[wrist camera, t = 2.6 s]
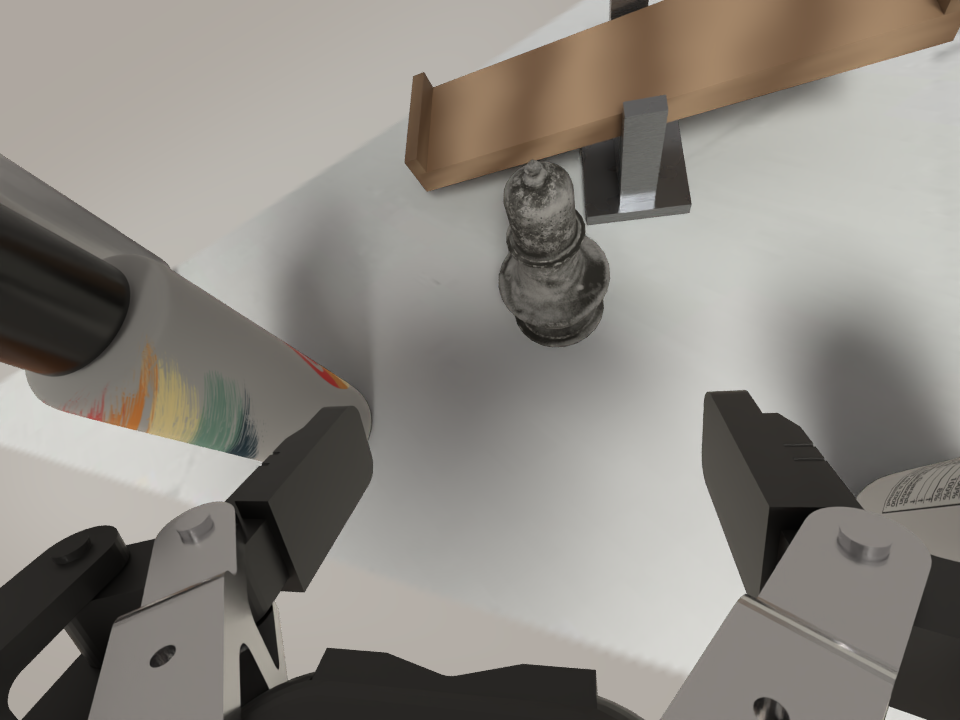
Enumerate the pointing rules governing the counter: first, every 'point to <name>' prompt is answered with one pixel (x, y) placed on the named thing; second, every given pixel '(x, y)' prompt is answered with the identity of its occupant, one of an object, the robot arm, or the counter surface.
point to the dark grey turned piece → (550, 259)
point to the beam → (652, 74)
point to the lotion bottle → (151, 348)
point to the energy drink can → (922, 504)
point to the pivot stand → (636, 159)
